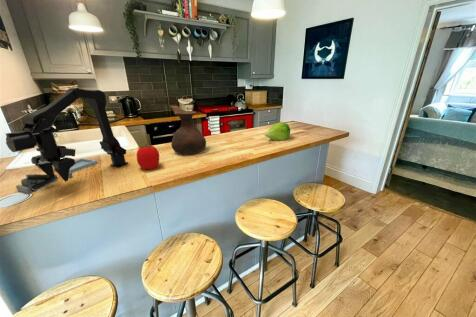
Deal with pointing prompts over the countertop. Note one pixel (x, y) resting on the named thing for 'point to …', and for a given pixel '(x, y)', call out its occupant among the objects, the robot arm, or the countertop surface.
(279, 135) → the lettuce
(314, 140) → the countertop surface
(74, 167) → the tray
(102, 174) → the countertop surface
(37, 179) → the dark piece
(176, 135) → the dark brown vase
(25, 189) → the bay rails
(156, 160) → the red apple
